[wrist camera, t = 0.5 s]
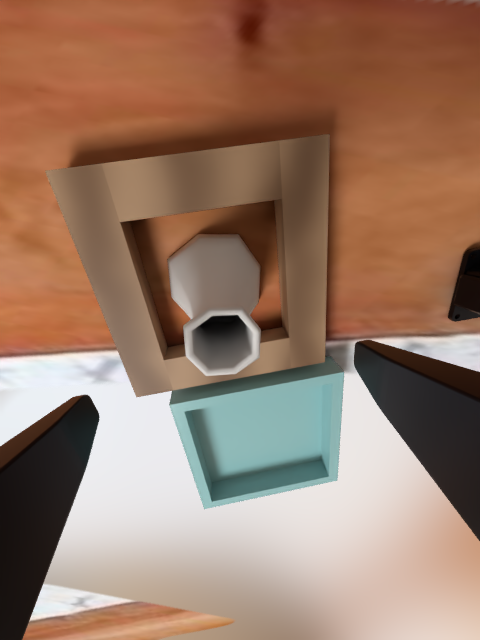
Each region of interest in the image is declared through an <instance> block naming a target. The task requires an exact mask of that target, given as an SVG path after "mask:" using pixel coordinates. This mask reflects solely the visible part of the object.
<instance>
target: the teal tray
mask: <svg viewBox="0 0 480 640" xmlns="http://www.w3.org/2000/svg"><path fill="white" fill-rule="evenodd" d="M343 382H344V371H343V370H342V369H341V368H340V367H339V365H338V364H337V363H336V362H335V361H334V360H333V358H332V357H331V356H329V357H325V362H323V363H318V364H313V365H307V366H302V367H297V368H291V369H286V370H280V371H275V372H270V373H264V374H259V375H253V376H248V377H243V378H237V379H232V380H227V381H221V382H216V383H210V384H205V385H200V386H194V387H189V388H184V389H178V390H173V391H172V394H171V400H170V404H169V405H170V408H171V411H172V414H173V417H174V420H175V423H176V426H177V429H178V432H179V435H180V438H181V441H182V444H183V447H184V450H185V453H186V456H187V459H188V462H189V465H190V468H191V471H192V474H193V476H194V480H195V482H196V485H197V489H198V492H199V495H200V498H201V501H202V503H203V506H204V509H207V508H212V507H216V506H221V505H225V504H230V503H235V502H240V501H244V500H249V499H253V498H258V497H263V496H267V495H272V494H277V493H281V492H286V491H290V490H295V489H300V488H304V487H309V486H313V485H318V484H323V483H327V482H332V481H337V478H338V462H339V445H340V430H341V414H342V399H343Z"/></svg>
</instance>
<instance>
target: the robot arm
mask: <svg viewBox="0 0 480 640" xmlns="http://www.w3.org/2000/svg"><path fill="white" fill-rule="evenodd" d="M471 255H472V256H471ZM478 317H480V248H476V249H470V250H468V251H467V252H466V253H465V254H464V256H463V260H462V264H461V268H460V272H459V276H458V280H457V284H456V288H455V292H454V295H453V299H452V303H451V307H450V311H449V315H448V318H449V319H450V320H452V321H461V320H467V319H472V318H478ZM354 365H355V368H356V370H357V372H358V373H359V375H360V377H361V378H362V380H363V382H364V383H365V385H366V387H367V388H368V390H369V392H370V393H371V395H372V397H373V398H374V400H375V402H376V403H377V405H378V406H379V408H380V409H381V410H382V412H383V413H384V415H385V416H386V417H387V419H388V420H389V421H390V423H391V424H392V425H393V427H394V428H395V429H396V431H397V432H398V433H399V435H400V436H401V437H402V439H403V440H404V441H405V442H406V444H407V445H408V447H409V448H410V449H411V451H412V452H413V453H414V455H415V456H416V457H417V459H418V460H419V461H420V462H421V464H422V465H423V466H424V468H425V469H426V471H427V472H428V473H429V475H430V476H431V477H432V479H433V480H434V481H435V483H436V484H437V485H438V486H439V488H440V489H441V490H442V492H443V493H444V494H445V496H446V497H447V498H448V500H449V501H450V502H451V504H452V505H453V506H454V508H455V509H456V510H457V512H458V513H459V514H460V515H461V517H462V518H463V520H464V521H465V522H466V523H467V525H468V526H469V528H470V529H471V530H472V532H473V533H474V534H475V536H476V537H477V538H478V539H479V541H480V372H477V371H474V370H470V369H467V368H464V367H460V366H457V365H453V364H450V363H447V362H443V361H440V360H436V359H433V358H430V357H426V356H423V355H419V354H416V353H412V352H409V351H406V350H402V349H399V348H395V347H392V346H389V345H385V344H382V343H378V342H375V341H372V340H364V341H359V342H357V343H356V344H355V353H354ZM98 422H99V413H98V411H97V409H96V407H95V405H94V403H93V401H92V400H91V398H90V397H89V396H88V395H81V396H76V397H72V398H71V399H70V400H68V401H66V402H65V403H63V404H62V405H61V406H59V407H58V408H56V409H55V410H53V411H52V412H50V413H49V414H47V415H46V416H44V417H43V418H41V419H40V420H38V421H37V422H36V423H34V424H33V425H31V426H30V427H28V428H27V429H25V430H24V431H22V432H21V433H19V434H18V435H17V436H15V437H14V438H12V439H10V440H9V441H8V442H6V443H5V444H3V445H2V446H0V640H22V639H23V636H24V634H25V631H26V628H27V626H28V623H29V620H30V618H31V615H32V612H33V610H34V607H35V604H36V601H37V599H38V596H39V593H40V591H41V588H42V585H43V583H44V580H45V577H46V575H47V572H48V569H49V567H50V564H51V561H52V558H53V556H54V553H55V550H56V548H57V545H58V542H59V540H60V537H61V534H62V532H63V529H64V526H65V523H66V521H67V518H68V516H69V513H70V510H71V507H72V505H73V502H74V499H75V497H76V494H77V491H78V489H79V486H80V483H81V481H82V478H83V475H84V472H85V470H86V466H87V463H88V460H89V456H90V452H91V449H92V445H93V441H94V437H95V434H96V430H97V426H98Z"/></svg>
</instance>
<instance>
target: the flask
mask: <svg viewBox="0 0 480 640" xmlns="http://www.w3.org/2000/svg"><path fill="white" fill-rule="evenodd" d="M167 261H168V270H169V279H170V288H171V297H172V298H173V299H174V301H175V302H176V303H177V304H178V305H179V306H180V307H181V308H182V309H183V310H184V311H185V312H186V314H187V315H188V316H189V317H190V318H191V320H190V321H189V322H187V323H186V324H185V325H184V326H183V331H184V342H185V352H186V357H187V358H188V359H189V360H190V361H191V362H192V363H193V364H194V365H195V366H196V367H197V368H198V369H199V370H200V371H201V372H202V373H203V374H204V375H205V376H214V375H229V374H237V373H238V372H239V371H241V370H242V369H244V368H245V367H247V366H248V365H250V364H251V363H253V362H254V361H256V360H257V359H258V358H260V340H261V329H260V328H259V326H258V325H257V324H256V323H255V321H254V320H253V319H252V318H251V316H250V314H251V313H252V311H253V309H254V308H255V307H256V305H257V304H258V302H259V288H260V264H259V263H258V262H257V260H256V259H255V257H254V256H253V254H252V253H251V251H250V250H249V249H248V247H247V246H246V244H245V243H244V241H243V240H242V239H241V237H240V236H239V234H197V235H196V236H195V237H194V238H193V239H191V240H190V241H189V242H188V243H186V244H185V245H184V246H183V247H182V248H180V249H179V250H178V251H177V252H176V253H174V254H173V255H172V256H171V257H169V258H168V259H167Z"/></svg>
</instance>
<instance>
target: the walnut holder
mask: <svg viewBox="0 0 480 640" xmlns="http://www.w3.org/2000/svg"><path fill="white" fill-rule="evenodd" d="M329 146H330V134H325V135H318V136H310V137H302V138H295V139H287V140H279V141H271V142H264V143H256V144H248V145H240V146H233V147H225V148H217V149H210V150H202V151H194V152H186V153H179V154H171V155H163V156H156V157H148V158H140V159H132V160H125V161H117V162H109V163H102V164H94V165H86V166H78V167H71V168H63V169H55V170H48V171H45V172H46V175H47V177H48V180H49V182H50V184H51V187H52V189H53V192H54V194H55V197H56V199H57V202H58V204H59V207H60V209H61V212H62V214H63V217H64V219H65V222H66V224H67V226H68V229H69V231H70V234H71V236H72V239H73V241H74V244H75V246H76V249H77V251H78V254H79V256H80V259H81V261H82V264H83V266H84V268H85V271H86V273H87V276H88V278H89V281H90V283H91V286H92V288H93V291H94V293H95V296H96V298H97V301H98V303H99V306H100V308H101V310H102V313H103V315H104V318H105V320H106V323H107V325H108V328H109V330H110V333H111V335H112V338H113V340H114V343H115V345H116V348H117V350H118V352H119V355H120V357H121V360H122V362H123V365H124V367H125V370H126V372H127V375H128V377H129V380H130V382H131V385H132V387H133V390H134V392H135V394H136V397H141V396H146V395H151V394H157V393H162V392H167V391H173V390H178V389H184V388H189V387H194V386H200V385H205V384H210V383H216V382H221V381H227V380H232V379H237V378H243V377H248V376H253V375H259V374H264V373H270V372H275V371H280V370H286V369H291V368H297V367H302V366H307V365H313V364H318V363H323V362H325V336H326V289H327V241H328V193H329ZM273 200H274V205H275V221H276V236H277V252H278V268H279V283H280V299H281V315H282V327H280V328H274V329H269V330H263V331H261V340H260V358H258V359H257V360H256V361H254V362H253V363H251V364H250V365H248V366H247V367H245V368H244V369H242V370H241V371H239V372H238V373H237V374H229V375H214V376H205V375H204V374H203V373H202V372H201V371H200V370H199V369H198V368H197V367H196V366H195V365H194V364H193V363H192V362H191V361H190V360H189V359H188V358H187V357H186V352H185V344H183V345H177V346H172V347H167V343H166V340H165V337H164V334H163V330H162V327H161V324H160V320H159V317H158V314H157V310H156V307H155V304H154V300H153V297H152V294H151V290H150V287H149V284H148V280H147V277H146V274H145V270H144V267H143V264H142V260H141V257H140V254H139V250H138V247H137V244H136V240H135V237H134V234H133V230H132V227H131V224H130V221H134V220H141V219H148V218H155V217H161V216H168V215H175V214H182V213H189V212H196V211H203V210H210V209H217V208H224V207H231V206H238V205H245V204H252V203H259V202H266V201H273Z"/></svg>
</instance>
